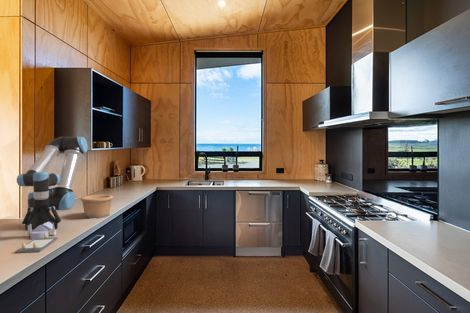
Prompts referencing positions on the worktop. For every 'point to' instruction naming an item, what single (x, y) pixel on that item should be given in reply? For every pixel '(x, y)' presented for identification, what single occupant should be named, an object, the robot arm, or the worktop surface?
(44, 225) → the wedge on round base
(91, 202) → the pottery
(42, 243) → the pin plate
